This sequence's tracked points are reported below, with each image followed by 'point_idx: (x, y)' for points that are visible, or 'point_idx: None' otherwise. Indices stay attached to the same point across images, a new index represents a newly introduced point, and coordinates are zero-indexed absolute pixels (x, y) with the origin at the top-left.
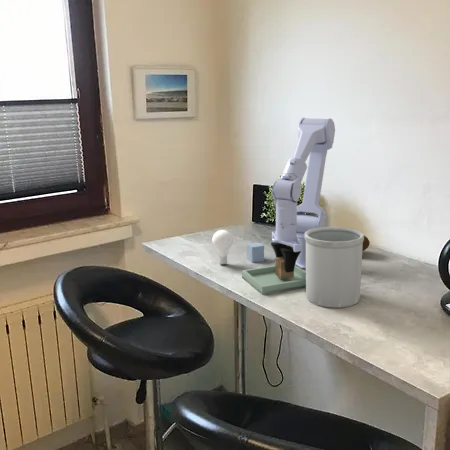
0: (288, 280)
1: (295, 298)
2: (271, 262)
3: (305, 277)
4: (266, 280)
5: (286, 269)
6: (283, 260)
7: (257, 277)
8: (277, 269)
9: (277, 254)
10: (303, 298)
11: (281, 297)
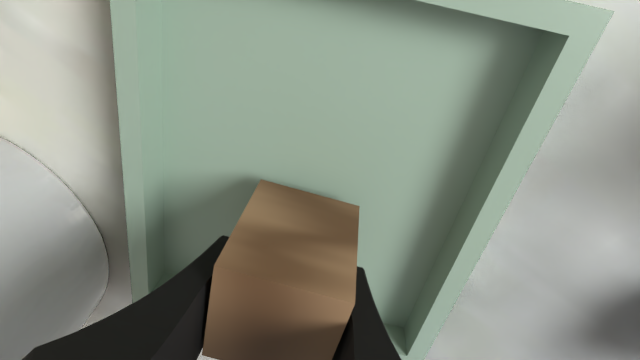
0: None
1: (15, 80)
2: (598, 336)
3: None
4: (343, 108)
5: (210, 246)
6: (242, 304)
7: (440, 92)
8: (311, 224)
9: (353, 348)
10: (5, 119)
11: (52, 12)
